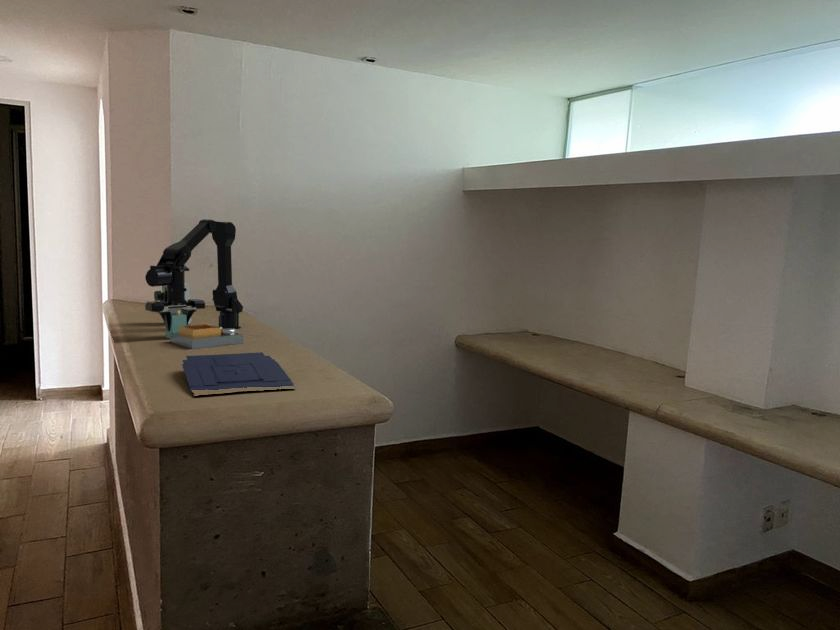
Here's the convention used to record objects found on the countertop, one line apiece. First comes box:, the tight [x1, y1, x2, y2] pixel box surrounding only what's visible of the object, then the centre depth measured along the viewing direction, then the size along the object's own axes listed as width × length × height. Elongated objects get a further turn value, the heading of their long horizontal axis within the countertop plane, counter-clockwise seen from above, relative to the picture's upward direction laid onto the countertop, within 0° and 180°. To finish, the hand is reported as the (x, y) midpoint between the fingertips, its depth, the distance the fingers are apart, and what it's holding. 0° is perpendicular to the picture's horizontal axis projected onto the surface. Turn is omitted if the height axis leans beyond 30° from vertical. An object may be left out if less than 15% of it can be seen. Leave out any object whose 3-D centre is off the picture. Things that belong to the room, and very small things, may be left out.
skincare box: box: [161, 282, 192, 325], centre depth 249 cm, size 8×7×16 cm
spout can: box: [165, 310, 188, 340], centre depth 222 cm, size 5×5×10 cm
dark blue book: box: [181, 351, 295, 391], centre depth 167 cm, size 24×30×4 cm
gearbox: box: [170, 323, 244, 350], centre depth 215 cm, size 18×15×6 cm
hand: (176, 330), depth 222 cm, fingers closed on spout can, 5 cm apart
